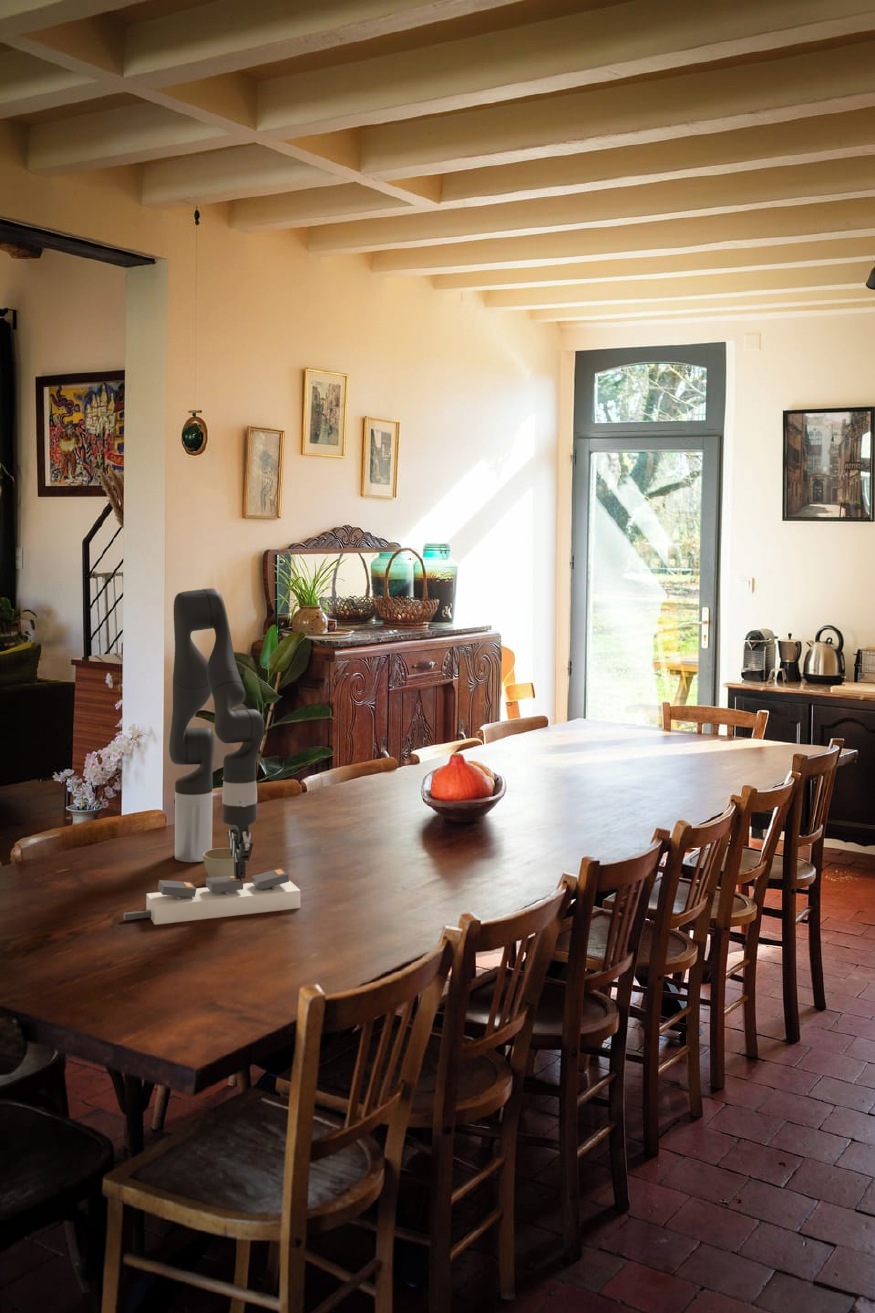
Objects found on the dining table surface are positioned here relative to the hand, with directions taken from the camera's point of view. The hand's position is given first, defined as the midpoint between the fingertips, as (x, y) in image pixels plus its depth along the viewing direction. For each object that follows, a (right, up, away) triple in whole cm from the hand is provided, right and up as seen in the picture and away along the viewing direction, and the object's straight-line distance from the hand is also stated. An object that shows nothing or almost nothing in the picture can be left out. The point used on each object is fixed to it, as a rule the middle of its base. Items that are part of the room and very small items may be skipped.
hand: (239, 877), depth 257 cm
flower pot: (-7, -5, +19) cm, 20 cm away
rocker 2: (-3, -2, -1) cm, 4 cm away
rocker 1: (-13, -2, -6) cm, 14 cm away
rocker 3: (+6, -2, +3) cm, 7 cm away
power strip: (-6, -7, -2) cm, 9 cm away
